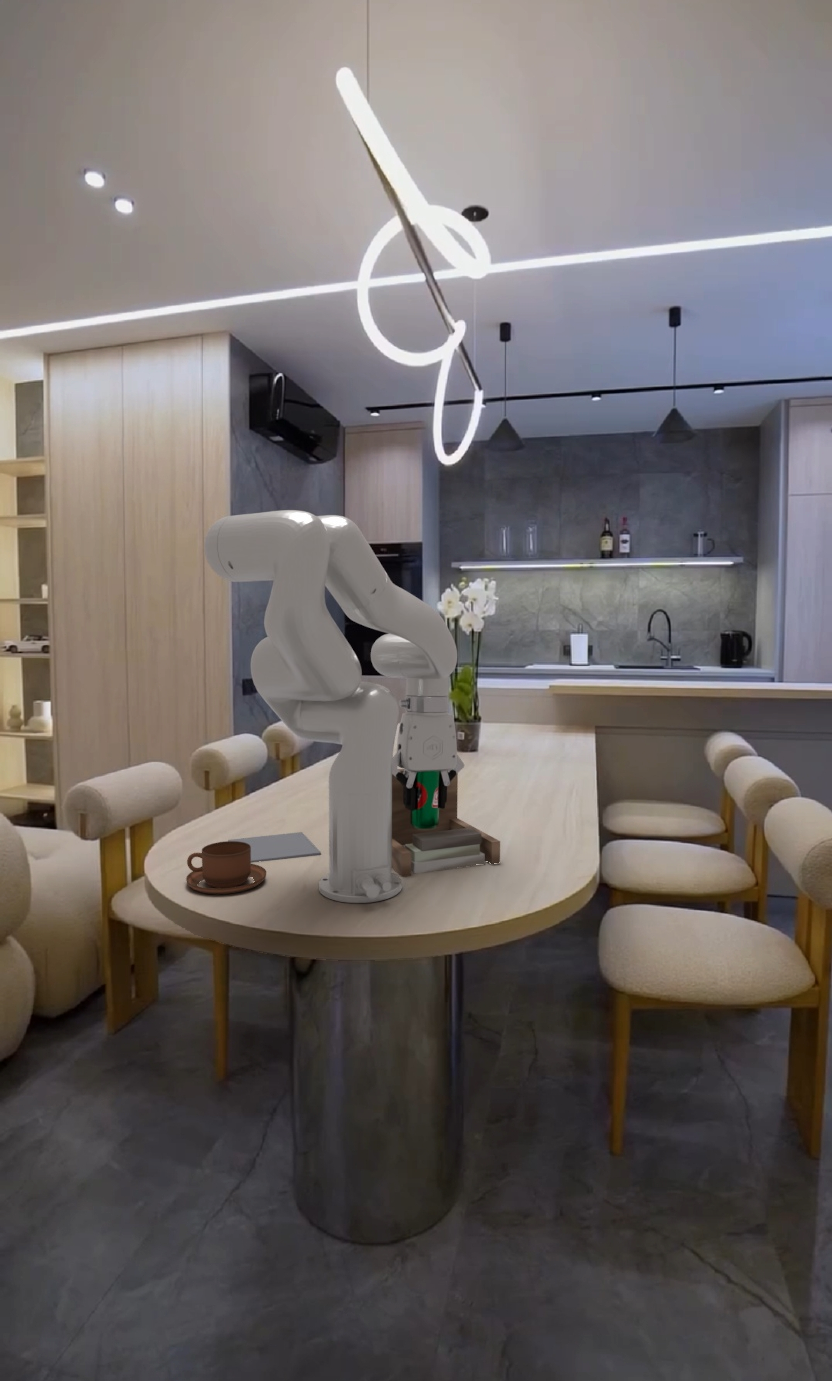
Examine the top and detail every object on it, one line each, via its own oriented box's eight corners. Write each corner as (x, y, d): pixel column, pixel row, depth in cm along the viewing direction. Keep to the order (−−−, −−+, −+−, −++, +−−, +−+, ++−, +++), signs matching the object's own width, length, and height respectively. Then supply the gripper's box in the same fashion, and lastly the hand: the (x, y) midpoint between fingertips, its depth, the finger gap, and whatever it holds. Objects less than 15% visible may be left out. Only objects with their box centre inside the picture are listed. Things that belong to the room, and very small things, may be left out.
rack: (499, 864, 121) (501, 783, 120) (402, 877, 114) (402, 792, 113) (453, 836, 137) (454, 765, 136) (365, 846, 130) (365, 771, 129)
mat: (321, 855, 125) (321, 852, 125) (240, 865, 119) (240, 861, 119) (301, 834, 138) (301, 831, 138) (228, 842, 132) (228, 839, 132)
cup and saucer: (185, 904, 102) (184, 863, 102) (187, 877, 114) (186, 840, 113) (269, 896, 106) (269, 856, 105) (263, 871, 117) (263, 834, 117)
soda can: (438, 830, 123) (440, 761, 122) (409, 829, 123) (411, 761, 123) (438, 823, 128) (440, 757, 128) (410, 822, 128) (412, 756, 128)
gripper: (389, 708, 118) (387, 816, 119) (479, 707, 124) (477, 809, 125) (374, 704, 125) (372, 806, 126) (460, 704, 131) (458, 801, 132)
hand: (424, 807), depth 125 cm, fingers closed on soda can, 5 cm apart
